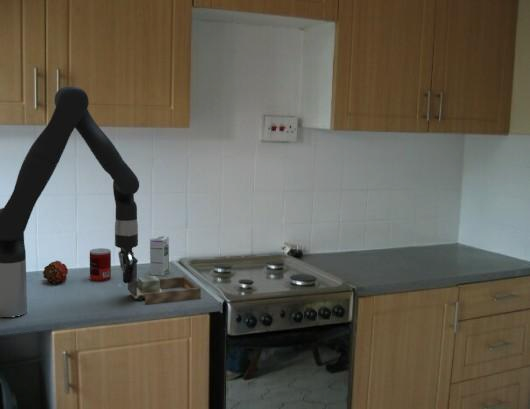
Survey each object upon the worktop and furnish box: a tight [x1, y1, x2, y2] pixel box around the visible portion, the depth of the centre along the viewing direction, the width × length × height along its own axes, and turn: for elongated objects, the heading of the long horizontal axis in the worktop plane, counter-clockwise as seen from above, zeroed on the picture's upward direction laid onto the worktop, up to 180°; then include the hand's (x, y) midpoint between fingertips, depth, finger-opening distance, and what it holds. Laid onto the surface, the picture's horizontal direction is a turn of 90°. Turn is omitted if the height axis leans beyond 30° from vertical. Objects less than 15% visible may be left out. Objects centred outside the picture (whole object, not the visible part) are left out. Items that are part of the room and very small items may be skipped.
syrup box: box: [149, 235, 170, 277], centre depth 251 cm, size 6×6×14 cm
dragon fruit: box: [42, 260, 69, 284], centre depth 236 cm, size 8×8×12 cm
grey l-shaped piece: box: [127, 256, 163, 302], centre depth 219 cm, size 11×9×15 cm
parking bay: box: [137, 276, 202, 305], centre depth 223 cm, size 19×16×4 cm
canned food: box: [89, 247, 112, 283], centre depth 241 cm, size 8×8×11 cm
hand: (126, 282), depth 216 cm, fingers closed
